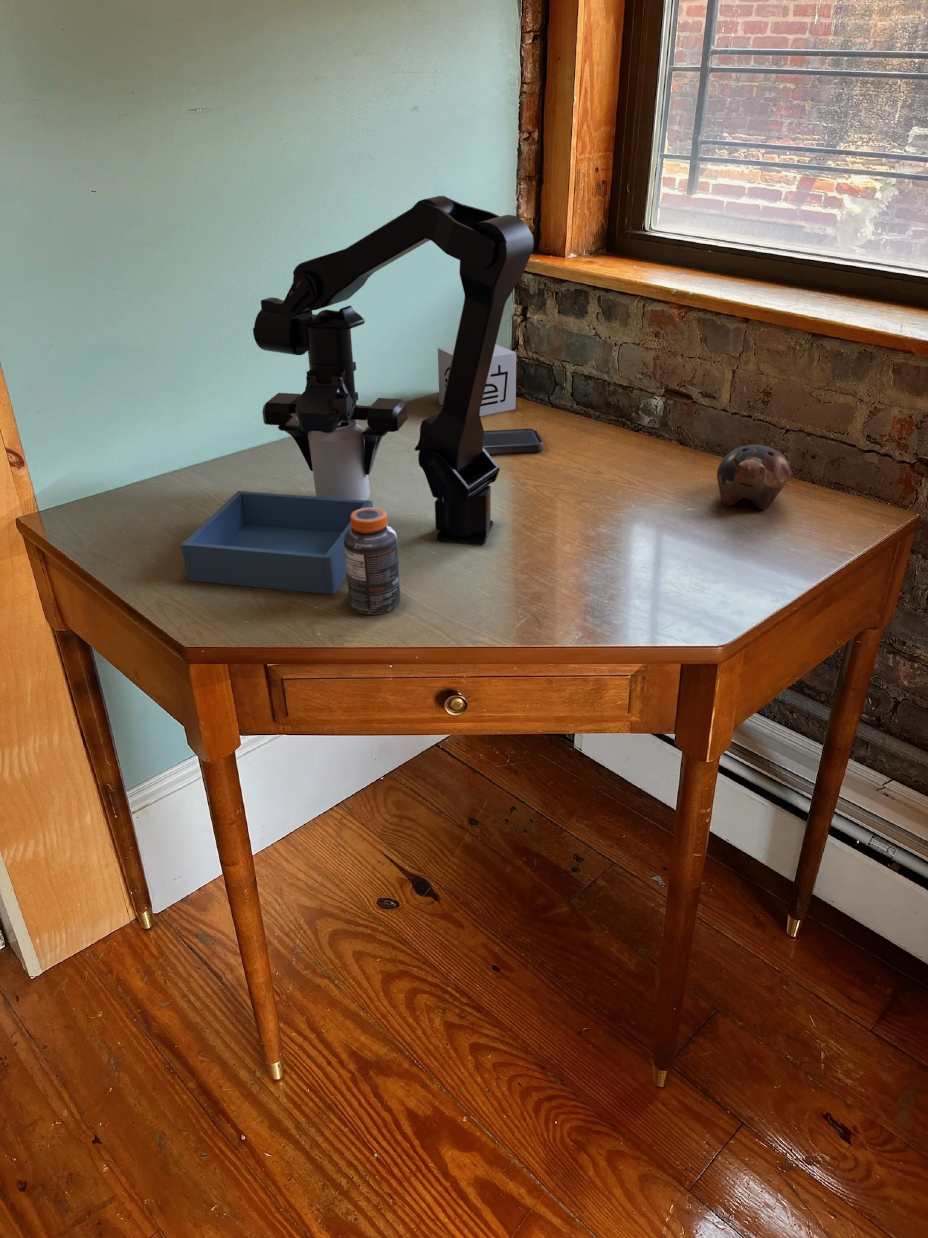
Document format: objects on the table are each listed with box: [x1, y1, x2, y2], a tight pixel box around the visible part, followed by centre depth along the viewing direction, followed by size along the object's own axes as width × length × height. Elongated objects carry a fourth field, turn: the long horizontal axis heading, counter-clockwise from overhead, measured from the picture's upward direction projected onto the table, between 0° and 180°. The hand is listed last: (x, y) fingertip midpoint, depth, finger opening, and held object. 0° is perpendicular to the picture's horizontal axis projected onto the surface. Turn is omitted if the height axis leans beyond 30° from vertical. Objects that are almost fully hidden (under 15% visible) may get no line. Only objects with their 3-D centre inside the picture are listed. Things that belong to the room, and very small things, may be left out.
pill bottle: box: [344, 506, 402, 615], centre depth 107 cm, size 6×6×11 cm
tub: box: [180, 490, 373, 595], centre depth 120 cm, size 19×17×5 cm
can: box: [308, 419, 371, 501], centre depth 132 cm, size 8×8×12 cm
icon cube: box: [437, 343, 517, 417], centre depth 169 cm, size 10×10×10 cm
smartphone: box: [483, 428, 544, 455], centre depth 154 cm, size 8×1×15 cm
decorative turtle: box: [716, 444, 791, 511], centre depth 132 cm, size 10×15×8 cm, turn 163°
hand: (340, 471), depth 132 cm, fingers closed on can, 8 cm apart
